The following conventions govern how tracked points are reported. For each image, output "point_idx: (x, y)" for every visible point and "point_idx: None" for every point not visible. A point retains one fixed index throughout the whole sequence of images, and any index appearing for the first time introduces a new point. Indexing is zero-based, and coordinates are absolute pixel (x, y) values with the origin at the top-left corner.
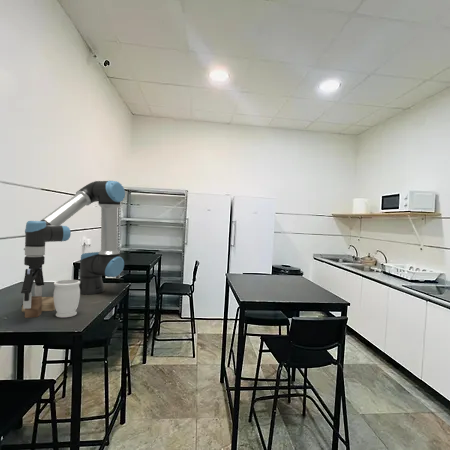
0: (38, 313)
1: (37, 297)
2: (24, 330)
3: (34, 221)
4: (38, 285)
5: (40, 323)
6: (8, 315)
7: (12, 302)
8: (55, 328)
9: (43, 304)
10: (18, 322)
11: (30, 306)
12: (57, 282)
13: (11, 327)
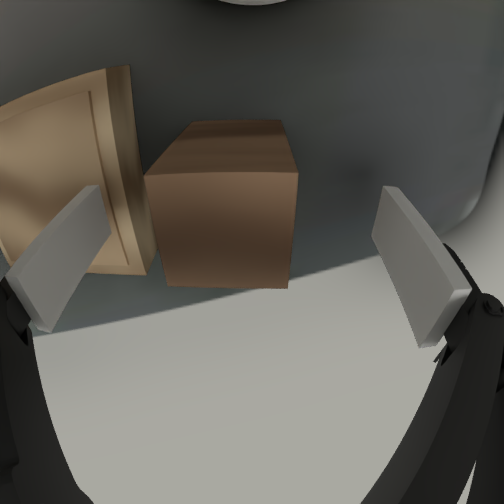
0: (264, 125)
1: (213, 202)
2: (488, 152)
3: None
4: (22, 308)
5: (420, 82)
6: None
7: None
8: (499, 20)
9: (110, 148)
10: (364, 205)
11: (403, 195)
12: None
13: (430, 215)
